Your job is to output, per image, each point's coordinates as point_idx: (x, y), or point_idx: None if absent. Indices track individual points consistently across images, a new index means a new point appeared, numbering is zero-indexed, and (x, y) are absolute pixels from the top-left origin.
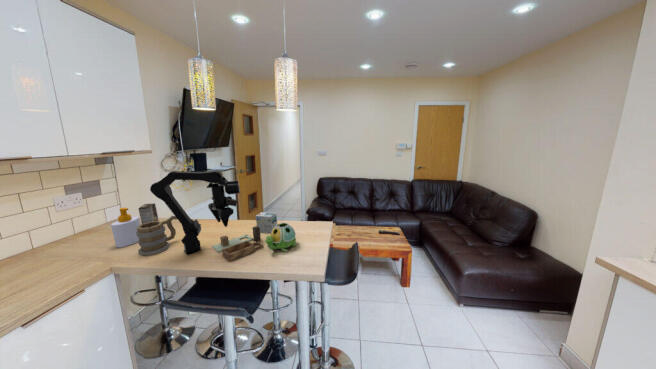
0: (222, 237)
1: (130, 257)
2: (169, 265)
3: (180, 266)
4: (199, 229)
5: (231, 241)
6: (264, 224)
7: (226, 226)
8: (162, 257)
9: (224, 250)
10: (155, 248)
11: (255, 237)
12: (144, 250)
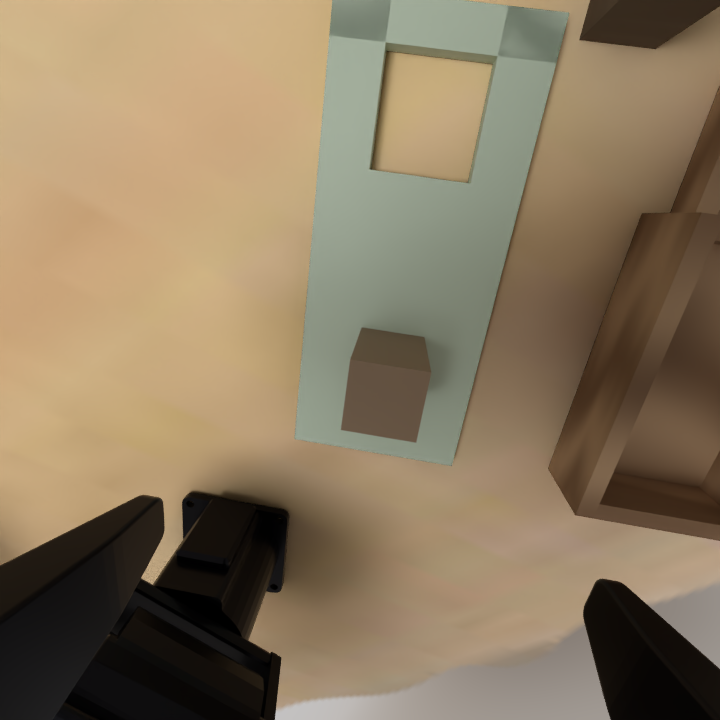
0: (376, 420)
1: None
2: (331, 678)
3: (404, 660)
4: (173, 713)
5: (365, 272)
6: None
7: (611, 592)
8: None
9: (623, 514)
10: None
11: (699, 11)
12: None
